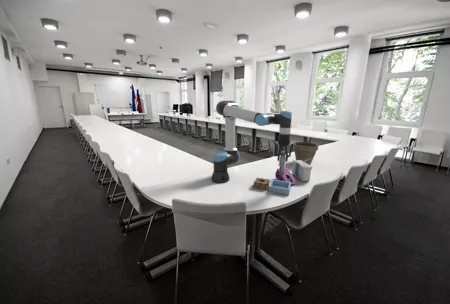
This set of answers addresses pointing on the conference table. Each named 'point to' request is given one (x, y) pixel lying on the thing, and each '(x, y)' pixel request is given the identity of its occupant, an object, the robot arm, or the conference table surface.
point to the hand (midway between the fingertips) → (282, 165)
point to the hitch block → (261, 183)
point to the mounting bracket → (285, 176)
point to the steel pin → (282, 162)
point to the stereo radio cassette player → (301, 170)
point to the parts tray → (280, 187)
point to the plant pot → (305, 151)
